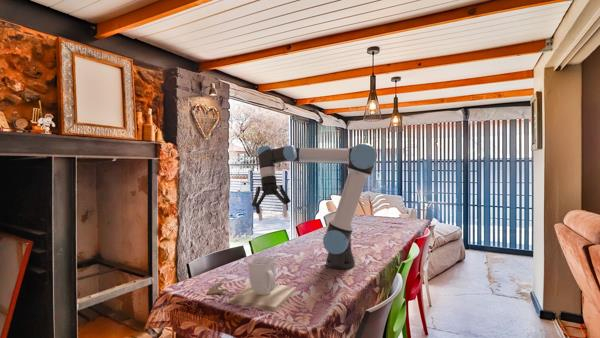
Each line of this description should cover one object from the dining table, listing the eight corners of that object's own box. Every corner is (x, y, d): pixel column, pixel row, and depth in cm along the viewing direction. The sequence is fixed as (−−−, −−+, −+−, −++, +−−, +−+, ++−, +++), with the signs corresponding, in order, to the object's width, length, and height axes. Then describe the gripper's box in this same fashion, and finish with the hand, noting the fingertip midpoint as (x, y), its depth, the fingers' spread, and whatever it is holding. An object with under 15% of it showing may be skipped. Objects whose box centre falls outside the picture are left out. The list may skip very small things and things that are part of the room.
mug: (286, 296, 128) (285, 263, 127) (261, 303, 122) (260, 269, 121) (268, 284, 140) (267, 254, 140) (244, 290, 134) (244, 259, 134)
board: (296, 290, 137) (296, 286, 137) (275, 310, 118) (275, 306, 118) (255, 284, 144) (255, 281, 144) (229, 303, 126) (229, 299, 126)
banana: (207, 300, 132) (206, 296, 132) (207, 283, 152) (206, 279, 152) (229, 294, 134) (228, 290, 134) (227, 279, 154) (226, 275, 154)
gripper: (286, 177, 172) (292, 216, 168) (242, 179, 159) (246, 222, 155) (293, 173, 166) (299, 215, 162) (247, 176, 153) (252, 221, 149)
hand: (273, 218), depth 159 cm, fingers open, 13 cm apart
